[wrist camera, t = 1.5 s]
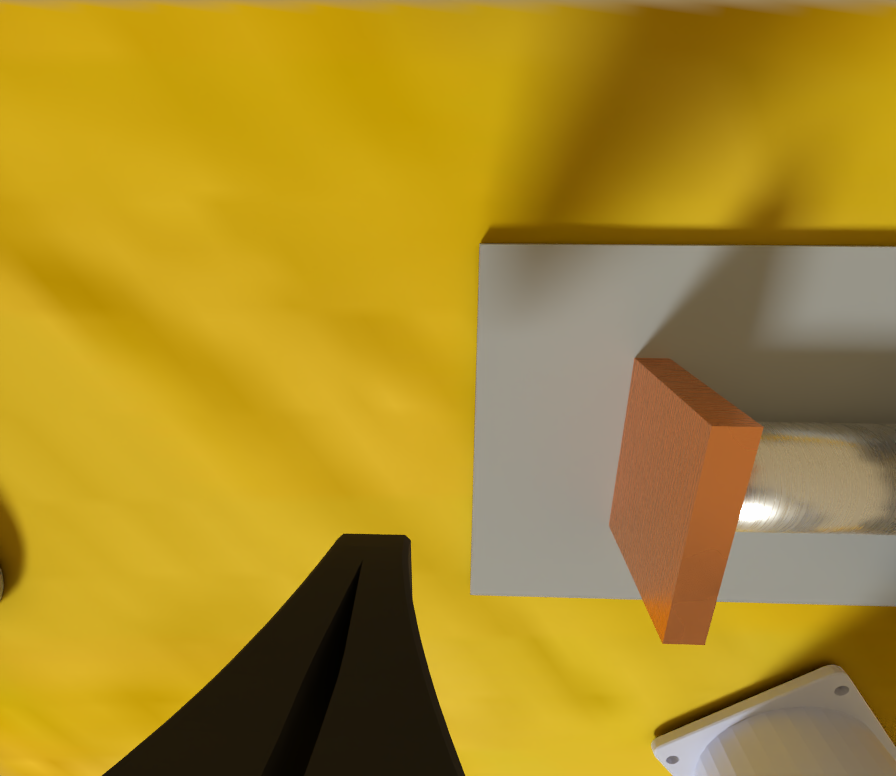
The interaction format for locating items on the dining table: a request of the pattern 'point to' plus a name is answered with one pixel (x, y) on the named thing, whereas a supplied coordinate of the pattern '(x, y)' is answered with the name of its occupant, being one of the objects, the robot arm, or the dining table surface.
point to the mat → (701, 354)
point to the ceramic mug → (1, 583)
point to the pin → (730, 489)
